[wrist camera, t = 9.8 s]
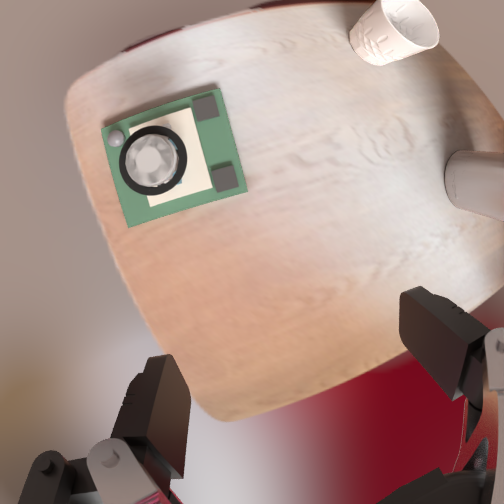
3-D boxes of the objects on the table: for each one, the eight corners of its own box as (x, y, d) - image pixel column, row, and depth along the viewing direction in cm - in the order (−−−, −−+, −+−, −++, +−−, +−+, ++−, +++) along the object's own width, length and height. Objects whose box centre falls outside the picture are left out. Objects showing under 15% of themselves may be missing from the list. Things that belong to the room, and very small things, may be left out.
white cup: (403, 67, 29) (449, 48, 19) (359, 73, 29) (402, 49, 19) (380, 19, 26) (419, -8, 17) (334, 22, 26) (368, -13, 17)
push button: (145, 129, 27) (111, 113, 17) (194, 122, 27) (181, 101, 18) (150, 190, 29) (118, 201, 19) (199, 184, 29) (188, 192, 20)
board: (219, 91, 28) (219, 85, 26) (246, 190, 32) (248, 192, 29) (104, 130, 28) (96, 128, 26) (131, 225, 31) (125, 230, 29)
